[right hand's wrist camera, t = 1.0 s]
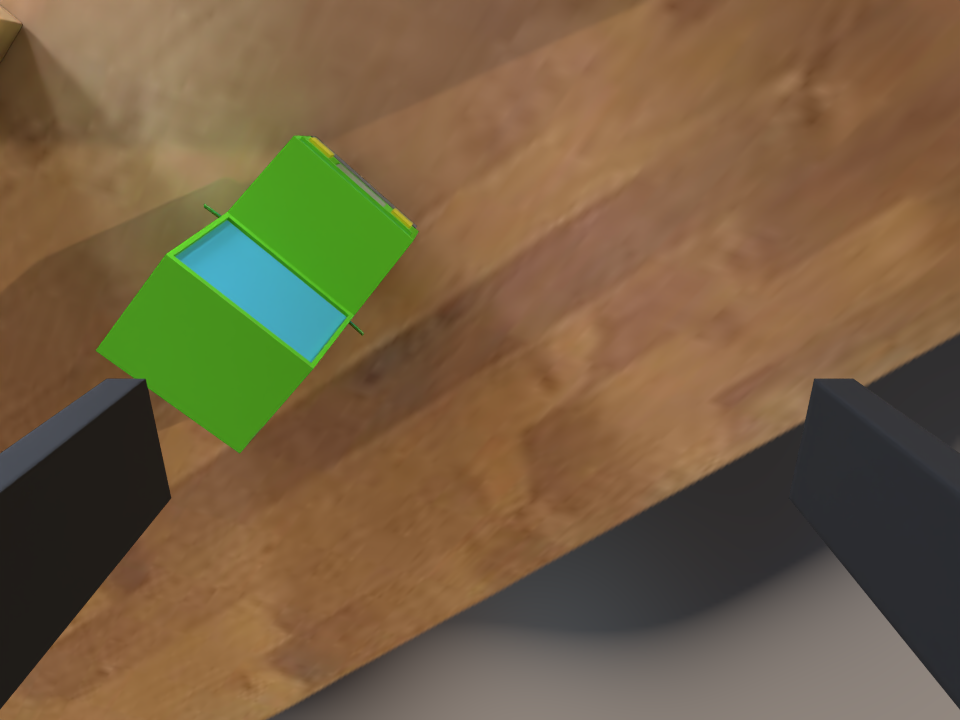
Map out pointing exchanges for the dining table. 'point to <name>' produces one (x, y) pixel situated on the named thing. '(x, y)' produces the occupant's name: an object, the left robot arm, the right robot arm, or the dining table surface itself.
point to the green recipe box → (260, 292)
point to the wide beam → (7, 30)
